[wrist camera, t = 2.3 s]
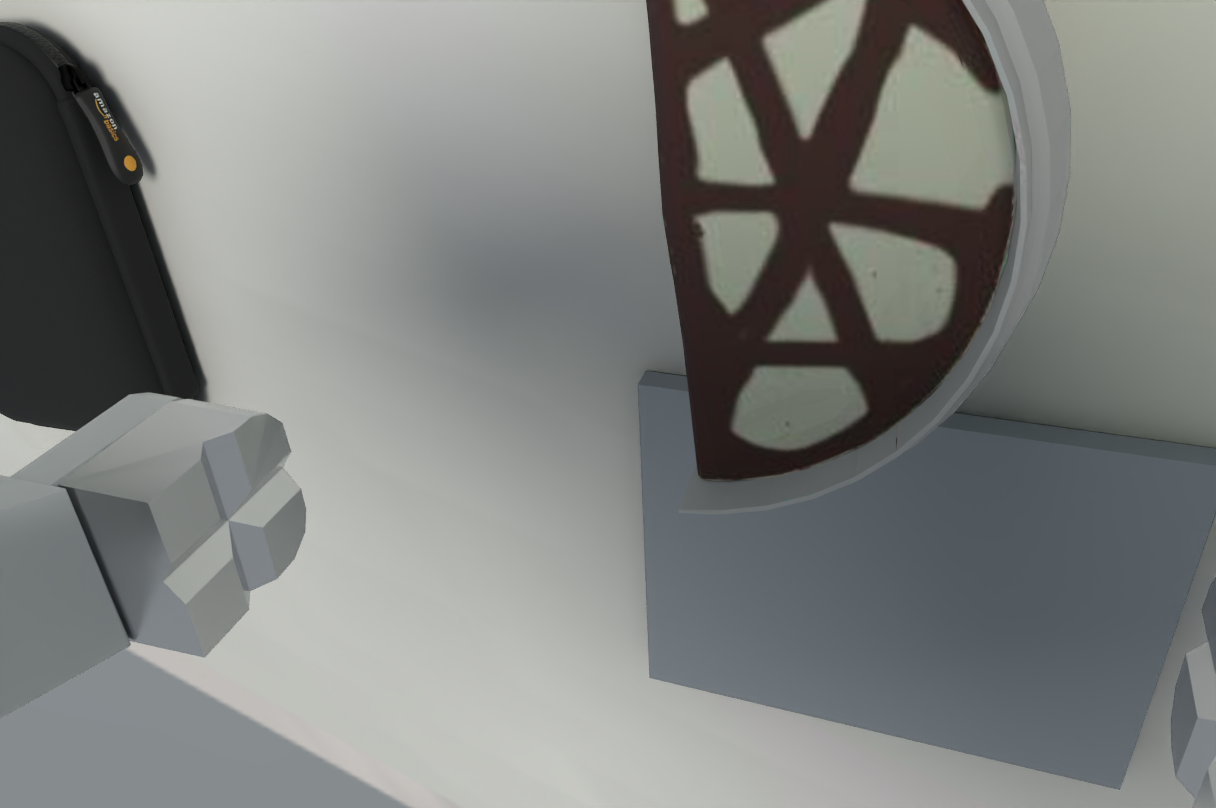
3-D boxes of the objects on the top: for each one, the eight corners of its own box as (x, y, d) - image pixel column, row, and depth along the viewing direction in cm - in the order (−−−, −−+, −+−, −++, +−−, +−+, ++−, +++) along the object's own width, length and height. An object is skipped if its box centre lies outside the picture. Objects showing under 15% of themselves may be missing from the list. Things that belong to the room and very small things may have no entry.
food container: (1036, 312, 24) (1037, 577, 16) (786, 306, 26) (681, 535, 19) (1089, -295, 18) (1133, -341, 10) (758, -237, 20) (584, -238, 12)
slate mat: (1226, 449, 24) (1231, 468, 24) (1118, 768, 31) (1119, 789, 30) (646, 370, 29) (637, 384, 28) (656, 661, 35) (649, 677, 35)
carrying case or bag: (256, 427, 37) (121, 9, 29) (202, 473, 35) (39, 31, 27) (44, 397, 41) (-126, 19, 33) (-19, 438, 38) (-217, 39, 31)
